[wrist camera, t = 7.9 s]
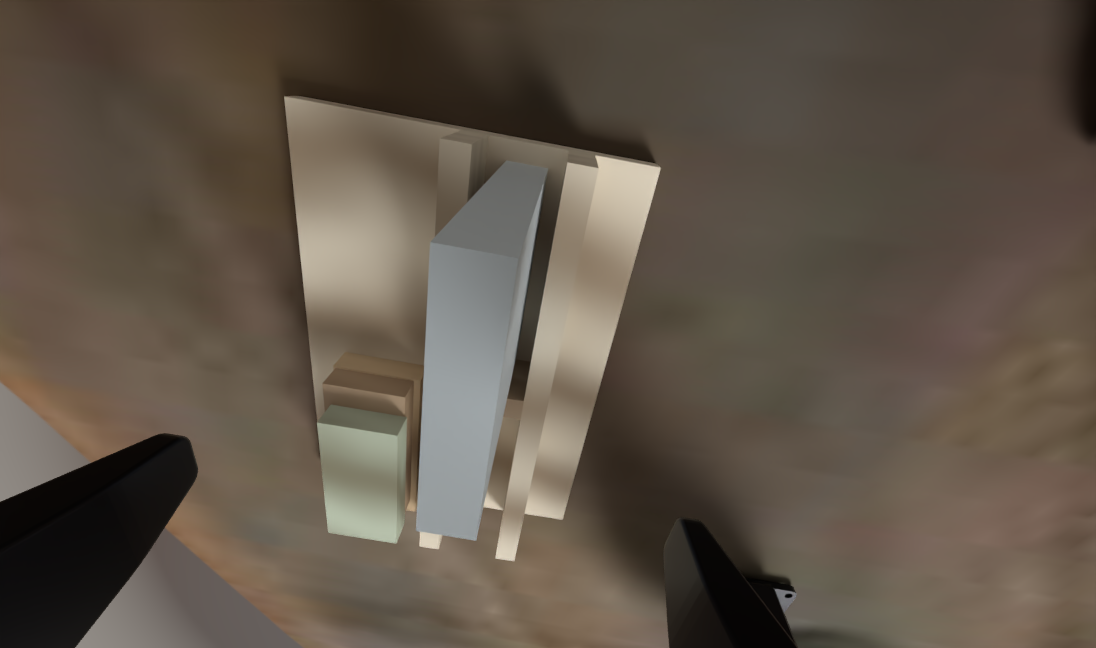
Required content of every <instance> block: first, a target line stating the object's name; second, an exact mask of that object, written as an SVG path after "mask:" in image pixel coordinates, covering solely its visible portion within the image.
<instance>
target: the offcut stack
mask: <svg viewBox="0 0 1096 648" xmlns="http://www.w3.org/2000/svg"><path fill="white" fill-rule="evenodd" d="M423 379H424V365H418V364H413V363H407V362H401V361H395V360H389V359H383V358H378V357H372V356H366V355H360V354H354V353H349V352H345V353H344V354H343V355H342V356H341V357H340V358H339V360H338V361H337V362H336V363H335V364H334V365H333V371H332V373H331V374H330V375H329V376H328V377H327V379H326V380H325V381H324V382H323V383H322V386H323V397H324V408H325V413H324V414H323V415H322V417H321V418H320V419H319V420H318V422H317V428H318V437H319V447H320V457H321V467H322V476H323V486H324V496H325V506H326V515H327V525H328V533H334V534H340V535H346V536H353V537H359V538H365V539H371V540H378V541H384V542H390V543H397V541H398V538H399V535H400V533H401V530H402V528H403V525H404V523H405V512H406V510H409V511H416V508H417V501H418V481H419V460H420V440H421V419H422V399H423Z"/></svg>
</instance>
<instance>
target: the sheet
mask: <svg viewBox="0 0 1096 648" xmlns="http://www.w3.org/2000/svg"><path fill="white" fill-rule="evenodd" d="M547 173H548V168H544V167H538V166H533V165H528V164H523V163H518V162H512V161H507V160H506V161H505V163H504V164H503V165H502V166H501V167H500V168H499V169H498V170H497V171H496V172H495V173H494V174H493V175H492V176H491V178H490V179H489V180H488V181H487V182H486V183H485V184H484V185H483V186H482V187H481V188H480V189H479V190H478V191H477V192H476V194H475V195H474V196H473V197H472V198H471V199H470V200H469V201H468V202H467V203H466V204H465V205H464V206H463V207H462V209H461V210H460V211H459V212H458V213H457V214H456V215H455V216H454V217H453V218H452V219H451V220H450V221H449V222H448V224H447V225H446V226H445V227H444V228H443V229H442V230H441V231H440V232H439V233H438V234H437V235H436V236H435V237H434V239H433V240H432V241H431V242H430V256H429V276H428V297H427V317H426V338H425V358H424V379H423V399H422V419H421V440H420V460H419V481H418V501H417V522H416V531H420V532H426V533H432V534H438V535H445V536H451V537H457V538H463V539H469V540H475V541H476V539H477V534H478V530H479V525H480V520H481V516H482V511H483V507H484V502H485V498H486V493H487V488H488V484H489V479H490V475H491V470H492V465H493V461H494V456H495V452H496V447H497V443H498V438H499V433H500V429H501V424H502V420H503V415H504V410H505V406H506V401H507V397H508V392H509V388H510V383H511V378H512V374H513V369H514V365H515V360H516V356H517V351H518V346H519V340H520V334H521V328H522V322H523V316H524V310H525V305H526V299H527V293H528V287H529V281H530V275H531V269H532V263H533V257H534V251H535V245H536V239H537V233H538V227H539V221H540V215H541V209H542V203H543V197H544V191H545V185H546V179H547Z"/></svg>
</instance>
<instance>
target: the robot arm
mask: <svg viewBox="0 0 1096 648" xmlns="http://www.w3.org/2000/svg"><path fill="white" fill-rule="evenodd" d="M197 473H198V466H197V463H196V459H195V456H194V452H193V449H192V445H191V442H190V440H189V439H188V438H187V437H185V436H180V435H174V434H167V433H163V434H158V435H155V436H153V437H150V438H148V439H146V440H143V441H141V442H139V443H136V444H134V445H132V446H129V447H127V448H125V449H122V450H120V451H118V452H115V453H113V454H111V455H108V456H106V457H104V458H101V459H99V460H97V461H94V462H92V463H90V464H88V465H85V466H83V467H81V468H78V469H76V470H73V471H71V472H69V473H67V474H64V475H62V476H60V477H57V478H55V479H53V480H50V481H48V482H46V483H43V484H41V485H39V486H36V487H34V488H32V489H29V490H27V491H24V492H22V493H20V494H18V495H15V496H13V497H10V498H8V499H6V500H3V501H1V502H0V648H75V647H76V646H77V645H78V643H79V642H80V640H82V638H83V637H84V636H85V634H86V633H87V632H88V631H89V629H90V628H91V626H92V625H93V624H94V623H95V622H96V620H97V619H98V618H99V617H100V615H101V614H102V613H103V611H104V610H105V609H106V608H107V607H108V605H109V604H110V603H111V601H112V600H113V599H114V598H115V596H116V595H117V594H118V593H119V591H120V590H121V589H122V587H123V586H124V585H125V584H126V582H127V581H128V580H129V579H130V577H131V576H132V575H133V573H134V572H135V571H136V569H137V568H138V567H139V565H140V564H141V562H142V561H143V559H144V558H145V557H146V555H147V554H148V552H149V551H150V549H151V548H152V546H153V545H154V543H155V542H156V540H157V539H158V537H159V535H160V534H161V532H162V531H163V529H164V528H165V526H166V525H167V523H168V522H169V520H170V519H171V517H172V516H173V514H174V513H175V511H176V510H177V508H178V506H179V505H180V503H181V502H182V500H183V499H184V497H185V496H186V494H187V493H188V491H189V490H190V488H191V487H192V485H193V483H194V482H195V480H196V477H197ZM663 558H664V575H665V591H666V607H667V623H668V637H669V648H798V646H797V644H796V641H795V639H794V636H793V634H792V631H791V629H790V626H789V624H788V621H787V619H786V616H785V614H784V612H785V611H786V610H787V608H788V607H789V606H790V604H791V603H792V602H793V600H794V599H795V598H796V596H797V595H796V592H795V590H794V587H792V586H790V585H784V584H778V583H772V582H766V581H759V580H753V579H747V578H744V576H743V575H742V574H741V572H740V571H739V570H738V568H737V567H736V566H735V564H734V563H733V562H732V561H731V559H730V558H729V557H728V555H727V554H726V553H725V551H724V550H723V549H722V547H721V546H720V545H719V543H718V542H717V541H716V540H715V538H714V537H713V536H712V534H711V533H710V532H709V530H708V529H707V528H706V526H705V525H704V524H703V523H702V522H701V521H699V520H696V519H690V518H684V517H680V518H678V519H677V520H676V522H675V524H674V526H673V528H672V530H671V532H670V534H669V536H668V539H667V541H666V543H665V546H664V554H663Z"/></svg>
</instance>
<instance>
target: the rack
mask: <svg viewBox="0 0 1096 648" xmlns="http://www.w3.org/2000/svg"><path fill="white" fill-rule="evenodd" d="M284 100H285V110H286V119H287V129H288V139H289V149H290V159H291V168H292V178H293V188H294V198H295V208H296V217H297V227H298V237H299V247H300V257H301V266H302V276H303V286H304V296H305V306H306V315H307V325H308V335H309V345H310V355H311V364H312V374H313V384H314V394H315V404H316V413H317V422H318V420H319V419H320V418H321V417H322V415H323V414H324V413H325V408H324V397H323V386H322V383H323V382H324V381H325V380H326V379H327V377H328V376H329V375H330V374H331V373H332V371H333V365H334V364H335V363H336V362H337V361H338V360H339V358H340V357H341V356H342V355H343V354H344V353H345V352H349V353H354V354H360V355H366V356H372V357H378V358H383V359H389V360H395V361H401V362H407V363H413V364H418V365H424V358H425V338H426V317H427V297H428V276H429V256H430V242H431V241H432V240H433V239H434V237H435V236H436V235H437V234H438V233H439V232H440V231H441V230H442V229H443V228H444V227H445V226H446V225H447V224H448V222H449V221H450V220H451V219H452V218H453V217H454V216H455V215H456V214H457V213H458V212H459V211H460V210H461V209H462V207H463V206H464V205H465V204H466V203H467V202H468V201H469V200H470V199H471V198H472V197H473V196H474V195H475V194H476V192H477V191H478V190H479V189H480V188H481V187H482V186H483V185H484V184H485V183H486V182H487V181H488V180H489V179H490V178H491V176H492V175H493V174H494V173H495V172H496V171H497V170H498V169H499V168H500V167H501V166H502V165H503V164H504V163H505V161H506V160H507V161H512V162H518V163H523V164H528V165H533V166H538V167H544V168H548V173H547V179H546V185H545V191H544V197H543V203H542V209H541V215H540V221H539V227H538V233H537V239H536V245H535V251H534V257H533V263H532V269H531V275H530V281H529V287H528V293H527V299H526V305H525V310H524V316H523V322H522V328H521V334H520V340H519V346H518V351H517V356H516V360H515V365H514V369H513V374H512V378H511V383H510V388H509V392H508V397H507V401H506V406H505V410H504V415H503V420H502V424H501V429H500V433H499V438H498V443H497V447H496V452H495V456H494V461H493V465H492V470H491V475H490V479H489V484H488V488H487V493H486V498H485V502H484V507H487V508H493V509H499V510H503V516H502V522H501V528H500V534H499V540H498V546H497V551H496V557H495V558H496V559H503V560H509V561H514V560H515V555H516V551H517V546H518V541H519V537H520V532H521V527H522V523H523V518H524V514H530V515H536V516H542V517H549V518H555V519H561V520H563V516H564V512H565V509H566V505H567V502H568V498H569V495H570V491H571V487H572V484H573V480H574V477H575V473H576V470H577V466H578V462H579V459H580V455H581V452H582V448H583V444H584V441H585V437H586V434H587V430H588V427H589V423H590V419H591V416H592V412H593V409H594V405H595V402H596V398H597V394H598V391H599V387H600V384H601V380H602V376H603V373H604V369H605V366H606V362H607V359H608V355H609V351H610V348H611V344H612V341H613V337H614V334H615V330H616V326H617V323H618V319H619V316H620V312H621V308H622V305H623V301H624V298H625V294H626V291H627V287H628V283H629V280H630V276H631V273H632V269H633V266H634V262H635V258H636V255H637V251H638V248H639V244H640V240H641V237H642V233H643V230H644V226H645V223H646V219H647V215H648V212H649V208H650V205H651V201H652V198H653V194H654V190H655V187H656V183H657V180H658V176H659V172H660V169H661V167H660V166H658V165H657V164H656V163H651V162H645V161H640V160H635V159H629V158H624V157H619V156H614V155H608V154H603V153H598V152H593V151H587V150H582V149H577V148H571V147H566V146H561V145H556V144H550V143H545V142H540V141H535V140H529V139H524V138H519V137H514V136H508V135H503V134H498V133H492V132H487V131H482V130H477V129H471V128H466V127H461V126H456V125H450V124H445V123H440V122H434V121H429V120H424V119H419V118H413V117H408V116H403V115H398V114H392V113H387V112H382V111H376V110H371V109H366V108H361V107H355V106H350V105H345V104H340V103H334V102H329V101H324V100H318V99H313V98H308V97H303V96H284ZM442 536H443V535H438V534H432V533H426V532H420V546H421V547H427V548H433V549H439V546H440V543H441V539H442Z"/></svg>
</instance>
